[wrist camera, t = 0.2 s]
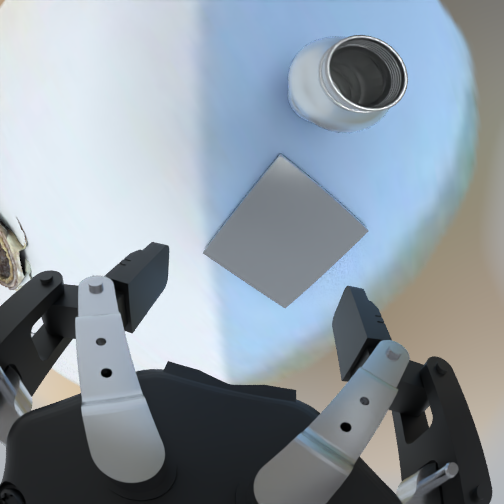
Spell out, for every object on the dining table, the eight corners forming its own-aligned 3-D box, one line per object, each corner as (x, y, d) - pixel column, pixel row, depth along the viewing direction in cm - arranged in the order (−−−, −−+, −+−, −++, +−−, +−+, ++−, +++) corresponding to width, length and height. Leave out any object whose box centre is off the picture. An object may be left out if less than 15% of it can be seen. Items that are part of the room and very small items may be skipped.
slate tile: (280, 153, 30) (280, 155, 28) (365, 226, 33) (368, 230, 31) (205, 247, 37) (202, 253, 36) (285, 301, 40) (285, 308, 39)
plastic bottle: (354, 115, 26) (451, 131, 9) (298, 130, 28) (318, 161, 11) (335, 63, 23) (407, 3, 6) (278, 78, 25) (264, 24, 8)
